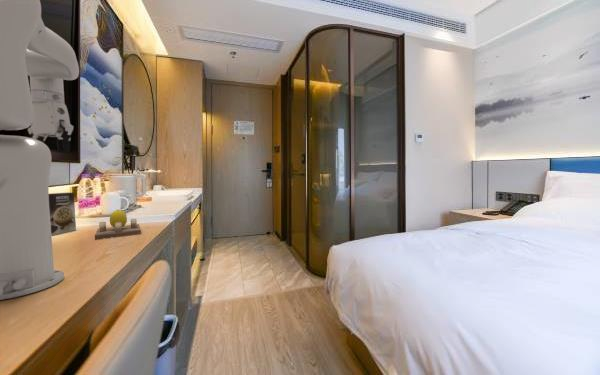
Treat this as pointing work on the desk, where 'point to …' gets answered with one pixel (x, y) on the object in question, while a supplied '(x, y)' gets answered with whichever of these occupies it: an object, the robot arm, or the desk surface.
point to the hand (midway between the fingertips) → (52, 153)
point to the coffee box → (62, 213)
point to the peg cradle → (117, 230)
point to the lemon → (118, 218)
